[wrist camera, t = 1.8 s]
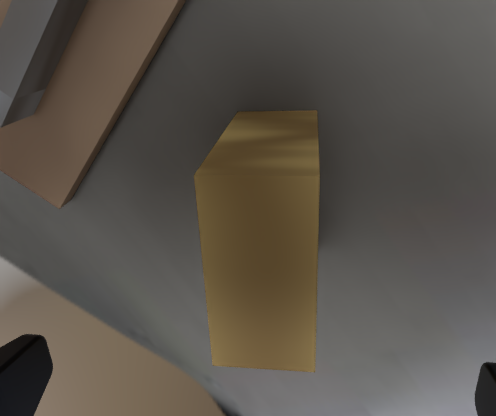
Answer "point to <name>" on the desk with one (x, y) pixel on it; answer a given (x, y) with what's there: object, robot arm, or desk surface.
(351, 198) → the desk surface
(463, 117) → the desk surface
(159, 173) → the desk surface
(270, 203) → the keyed peg
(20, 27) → the socket holder
